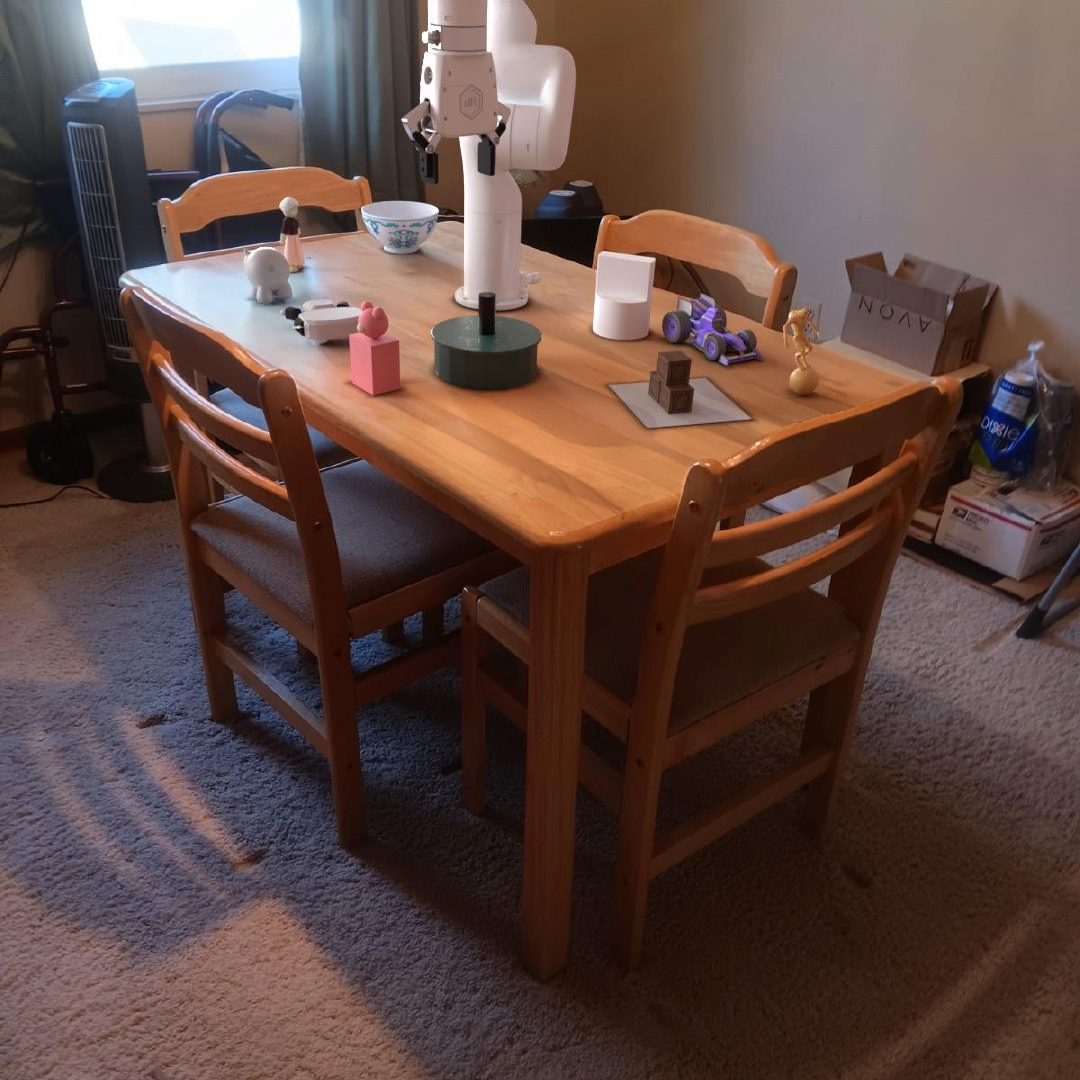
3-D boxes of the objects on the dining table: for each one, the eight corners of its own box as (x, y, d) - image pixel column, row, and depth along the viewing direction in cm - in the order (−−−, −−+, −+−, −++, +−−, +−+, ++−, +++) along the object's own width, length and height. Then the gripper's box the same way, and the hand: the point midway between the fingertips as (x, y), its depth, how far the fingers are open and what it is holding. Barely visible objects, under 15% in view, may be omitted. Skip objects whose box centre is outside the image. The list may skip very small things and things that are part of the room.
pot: (494, 346, 155) (495, 312, 152) (557, 376, 145) (559, 341, 142) (415, 365, 146) (414, 330, 144) (476, 398, 137) (476, 361, 134)
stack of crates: (751, 419, 135) (759, 371, 131) (647, 428, 131) (652, 378, 127) (704, 378, 147) (710, 333, 143) (608, 385, 143) (612, 339, 139)
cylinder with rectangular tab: (585, 334, 161) (590, 259, 155) (602, 318, 168) (607, 246, 162) (640, 343, 159) (647, 267, 153) (654, 326, 166) (661, 253, 160)
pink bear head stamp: (378, 376, 142) (375, 296, 136) (400, 389, 139) (398, 307, 133) (350, 383, 140) (345, 302, 134) (371, 396, 136) (368, 313, 130)
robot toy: (277, 328, 160) (302, 353, 148) (274, 300, 158) (299, 322, 146) (351, 320, 165) (382, 343, 153) (349, 292, 163) (380, 313, 151)
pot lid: (496, 315, 153) (496, 272, 149) (563, 345, 143) (566, 299, 139) (409, 334, 144) (408, 289, 140) (475, 367, 134) (475, 319, 130)
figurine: (796, 405, 140) (811, 321, 134) (760, 392, 143) (774, 309, 137) (829, 391, 145) (845, 309, 139) (794, 378, 148) (808, 298, 142)
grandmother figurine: (300, 274, 183) (295, 202, 177) (279, 273, 183) (273, 201, 177) (309, 262, 190) (304, 193, 183) (289, 261, 190) (283, 192, 183)
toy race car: (719, 368, 151) (725, 326, 147) (659, 337, 162) (664, 297, 158) (767, 359, 155) (774, 318, 152) (706, 329, 166) (711, 290, 163)
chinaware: (352, 255, 195) (350, 214, 191) (376, 237, 208) (374, 198, 204) (428, 262, 193) (427, 221, 189) (447, 243, 206) (446, 204, 202)
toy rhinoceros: (272, 283, 178) (267, 234, 173) (298, 301, 169) (294, 250, 165) (232, 288, 174) (226, 238, 170) (257, 307, 166) (252, 255, 161)
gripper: (419, 46, 122) (422, 191, 131) (527, 40, 132) (523, 176, 141) (385, 39, 127) (390, 180, 136) (492, 34, 137) (490, 166, 146)
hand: (458, 178), depth 139 cm, fingers open, 9 cm apart
